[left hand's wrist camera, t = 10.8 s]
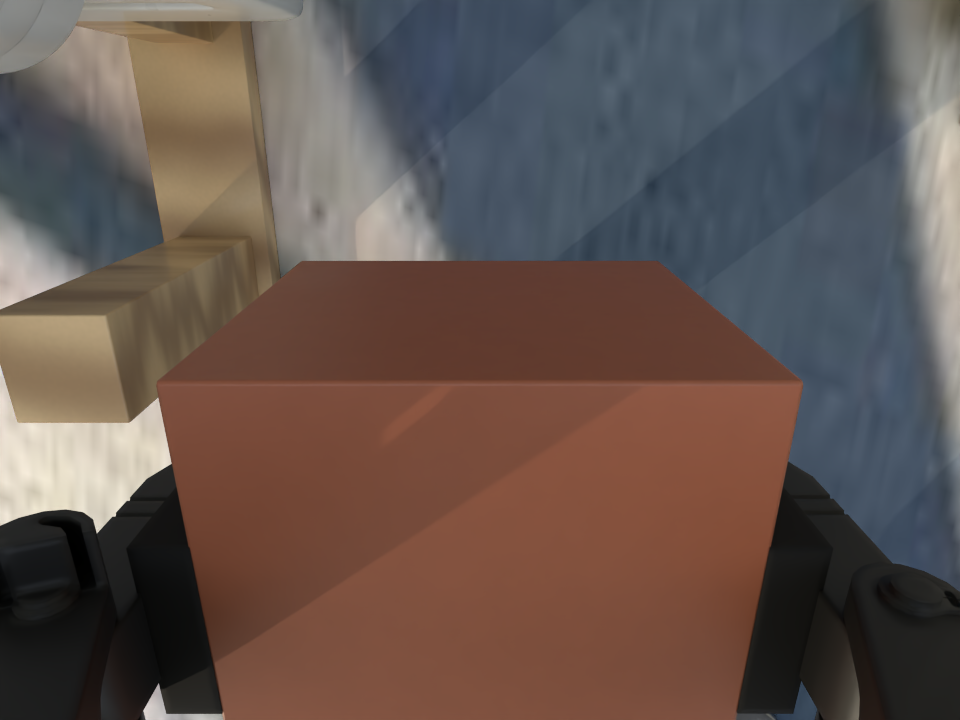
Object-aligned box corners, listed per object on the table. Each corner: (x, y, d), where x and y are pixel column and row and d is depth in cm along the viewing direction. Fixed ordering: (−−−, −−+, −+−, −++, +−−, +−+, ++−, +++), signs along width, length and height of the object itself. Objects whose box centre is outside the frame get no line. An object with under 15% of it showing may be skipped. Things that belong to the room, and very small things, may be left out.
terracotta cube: (628, 554, 15) (718, 819, 9) (331, 554, 15) (241, 819, 9) (658, 260, 12) (806, 381, 7) (300, 260, 12) (152, 381, 7)
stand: (286, 331, 48) (163, 472, 29) (193, 331, 48) (9, 472, 29) (239, -79, 38) (9, -261, 20) (122, -79, 38) (-218, -261, 20)
